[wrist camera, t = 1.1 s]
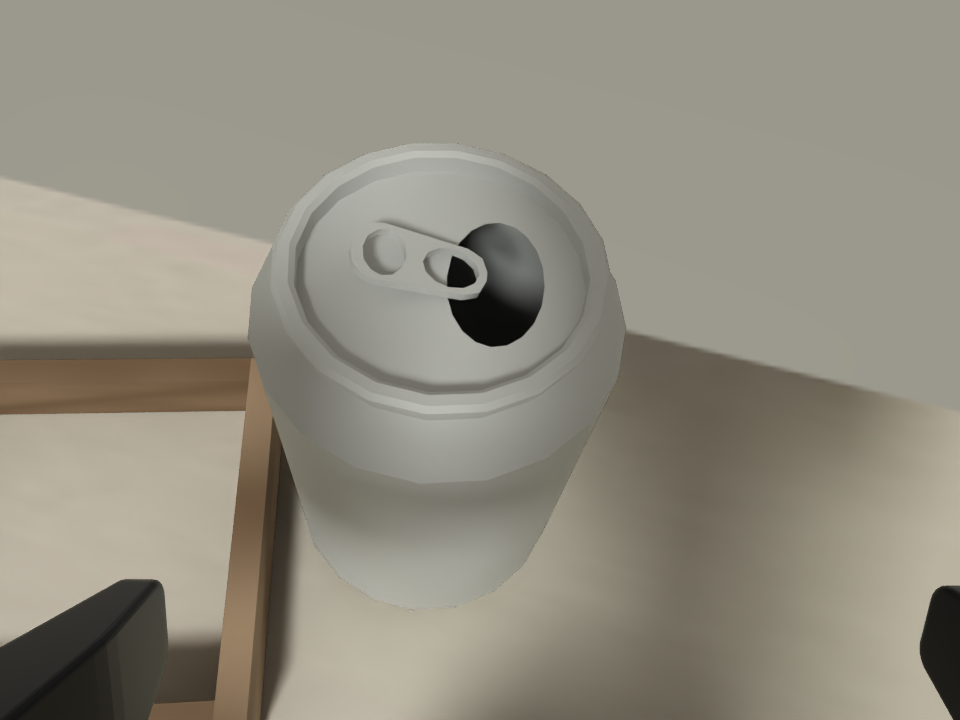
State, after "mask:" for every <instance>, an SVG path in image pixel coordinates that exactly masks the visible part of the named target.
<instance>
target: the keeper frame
mask: <svg viewBox="0 0 960 720" xmlns="http://www.w3.org/2000/svg"><path fill="white" fill-rule="evenodd" d="M185 411H246V412H245V421H244V431H243V440H242V449H241V459H240V468H239V478H238V487H237V496H236V506H235V515H234V525H233V534H232V543H231V553H230V562H229V572H228V581H227V590H226V600H225V609H224V619H223V628H222V637H221V647H220V656H219V666H218V675H217V684H216V694H215V701H197V702H179V703H161V704H153V707H152V710H151V713H150V716H149V719H148V720H260V718H261V705H262V692H263V679H264V666H265V653H266V640H267V627H268V614H269V601H270V589H271V576H272V563H273V550H274V537H275V524H276V511H277V498H278V485H279V472H280V459H281V446H282V442H281V439H280V436H279V433H278V430H277V427H276V424H275V421H274V418H273V414H272V411H271V408H270V405H269V402H268V399H267V396H266V393H265V390H264V387H263V383H262V380H261V377H260V374H259V371H258V368H257V365H256V362H255V358H187V359H69V360H0V414H58V413H122V412H185Z"/></svg>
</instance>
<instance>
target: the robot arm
mask: <svg viewBox="0 0 960 720" xmlns="http://www.w3.org/2000/svg"><path fill="white" fill-rule="evenodd" d="M167 655H168V634H167V621H166V608H165V595H164V589H163V586H162V584H161V583H160V582H159V581H158V580H153V579H125V580H120V581H118V582H116V583H115V584H113V585H111V586H109V587H108V588H106V589H104V590H102V591H100V592H99V593H97V594H95V595H93V596H91V597H90V598H88V599H86V600H84V601H82V602H81V603H79V604H77V605H75V606H74V607H72V608H70V609H68V610H66V611H65V612H63V613H61V614H59V615H57V616H56V617H54V618H52V619H50V620H48V621H47V622H45V623H43V624H41V625H40V626H38V627H36V628H34V629H32V630H31V631H29V632H27V633H25V634H23V635H22V636H20V637H18V638H16V639H14V640H13V641H11V642H9V643H7V644H5V645H4V646H2V647H0V720H148V719H149V716H150V713H151V710H152V707H153V704H154V701H155V697H156V694H157V691H158V688H159V685H160V682H161V679H162V675H163V672H164V669H165V666H166V661H167ZM920 656H921V660H922V663H923V666H924V668H925V670H926V672H927V674H928V675H929V677H930V679H931V681H932V682H933V684H934V686H935V688H936V690H937V691H938V693H939V695H940V697H941V699H942V700H943V702H944V704H945V706H946V708H947V709H948V711H949V713H950V715H951V716H952V718H953V720H960V586H941V587H939V588H937V589H936V590H935V592H934V593H933V595H932V597H931V601H930V605H929V609H928V613H927V617H926V621H925V625H924V629H923V633H922V637H921V641H920Z"/></svg>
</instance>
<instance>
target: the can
mask: <svg viewBox="0 0 960 720" xmlns="http://www.w3.org/2000/svg"><path fill="white" fill-rule="evenodd" d="M625 331H626V325H625V321H624V317H623V312H622V308H621V303H620V299H619V295H618V290H617V285H616V281H615V279H614V278H613V276H612V274H611V273H610V269H609V265H608V260H607V256H606V251H605V247H604V242H603V239H602V238H601V236H600V235H599V233H598V232H597V230H596V228H595V227H594V225H593V224H592V222H591V220H590V219H589V217H588V216H587V214H586V212H585V211H584V209H583V208H582V206H581V205H580V204H579V203H578V202H577V201H576V200H575V199H574V198H573V197H571V196H570V195H569V194H568V193H567V192H566V191H564V190H563V189H562V188H561V187H560V186H559V185H557V184H556V183H555V182H554V181H553V180H552V179H551V178H549V177H548V176H547V175H546V174H543V173H542V172H539V171H537V170H535V169H533V168H531V167H529V166H527V165H525V164H523V163H521V162H519V161H517V160H515V159H513V158H511V157H509V156H507V155H505V154H501V153H496V152H492V151H488V150H483V149H479V148H474V147H470V146H466V145H461V144H406V145H402V146H397V147H393V148H389V149H385V150H380V151H376V152H371V153H367V154H364V155H362V156H360V157H358V158H356V159H354V160H353V161H350V162H348V163H347V164H344V165H342V166H341V167H339V168H337V169H335V170H333V171H331V172H329V173H327V174H325V175H323V176H322V178H320V179H319V180H318V181H317V182H316V183H315V184H314V185H313V186H312V187H311V188H310V189H309V190H308V191H307V192H306V193H305V194H304V195H303V196H302V197H301V198H300V199H299V200H298V201H297V202H296V203H295V204H294V205H293V206H292V207H291V209H290V211H289V213H288V215H287V217H286V219H285V221H284V223H283V225H282V227H281V229H280V231H279V234H278V236H277V238H276V240H275V242H274V244H273V246H272V248H271V250H270V252H269V254H268V256H267V258H266V260H265V262H264V264H263V266H262V268H261V270H260V272H259V274H258V276H257V279H256V281H255V283H254V285H253V287H252V293H251V305H250V318H249V330H248V340H249V343H250V346H251V349H252V352H253V355H254V358H255V362H256V365H257V368H258V371H259V374H260V377H261V380H262V383H263V387H264V390H265V393H266V396H267V399H268V402H269V405H270V408H271V411H272V414H273V418H274V421H275V424H276V427H277V430H278V433H279V436H280V439H281V442H282V445H283V449H284V452H285V455H286V458H287V461H288V464H289V467H290V470H291V473H292V476H293V480H294V483H295V486H296V489H297V492H298V495H299V498H300V501H301V504H302V507H303V511H304V514H305V517H306V520H307V523H308V526H309V529H310V532H311V535H312V538H313V542H314V545H315V547H316V548H317V549H318V551H319V552H320V553H321V555H322V556H323V557H324V558H325V560H326V561H327V562H328V564H329V565H330V566H331V568H332V569H333V570H334V572H335V573H336V574H337V575H338V577H339V578H341V579H342V580H344V581H345V582H347V583H348V584H350V585H351V586H353V587H354V588H356V589H358V590H359V591H361V592H362V593H364V594H365V595H367V596H368V597H370V598H371V599H373V600H376V601H380V602H384V603H388V604H392V605H395V606H399V607H403V608H407V609H411V610H423V609H437V608H451V607H457V606H460V605H462V604H464V603H467V602H469V601H472V600H474V599H476V598H479V597H481V596H484V595H486V594H489V593H491V592H493V591H495V590H496V589H497V588H498V587H499V586H500V585H501V584H503V583H504V582H505V581H506V580H507V579H508V578H509V577H511V576H512V575H513V574H514V573H515V572H516V571H517V570H519V569H520V568H521V567H522V566H523V565H524V563H525V562H526V560H527V558H528V556H529V555H530V553H531V551H532V549H533V548H534V546H535V544H536V542H537V541H538V539H539V537H540V535H541V534H542V532H543V530H544V528H545V526H546V524H547V522H548V520H549V518H550V516H551V513H552V511H553V509H554V507H555V505H556V503H557V501H558V499H559V497H560V495H561V493H562V491H563V489H564V487H565V485H566V483H567V481H568V479H569V477H570V475H571V473H572V471H573V468H574V466H575V464H576V462H577V460H578V458H579V456H580V454H581V452H582V450H583V448H584V446H585V444H586V442H587V440H588V438H589V436H590V434H591V432H592V430H593V428H594V426H595V424H596V421H597V419H598V417H599V415H600V413H601V411H602V409H603V407H604V405H605V403H606V401H607V399H608V397H609V395H610V393H611V391H612V389H613V387H614V385H615V383H616V381H617V379H618V377H619V370H620V364H621V357H622V351H623V344H624V338H625Z"/></svg>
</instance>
